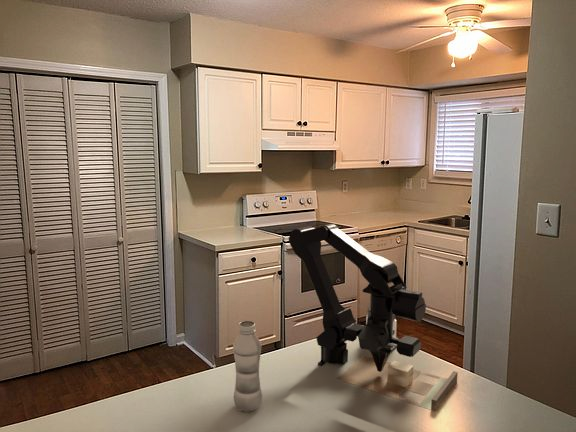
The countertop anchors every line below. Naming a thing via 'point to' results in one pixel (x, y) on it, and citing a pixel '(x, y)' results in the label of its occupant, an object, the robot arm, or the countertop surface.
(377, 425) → the countertop surface
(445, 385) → the board
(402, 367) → the block
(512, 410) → the countertop surface
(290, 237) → the robot arm
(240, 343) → the plastic bottle
